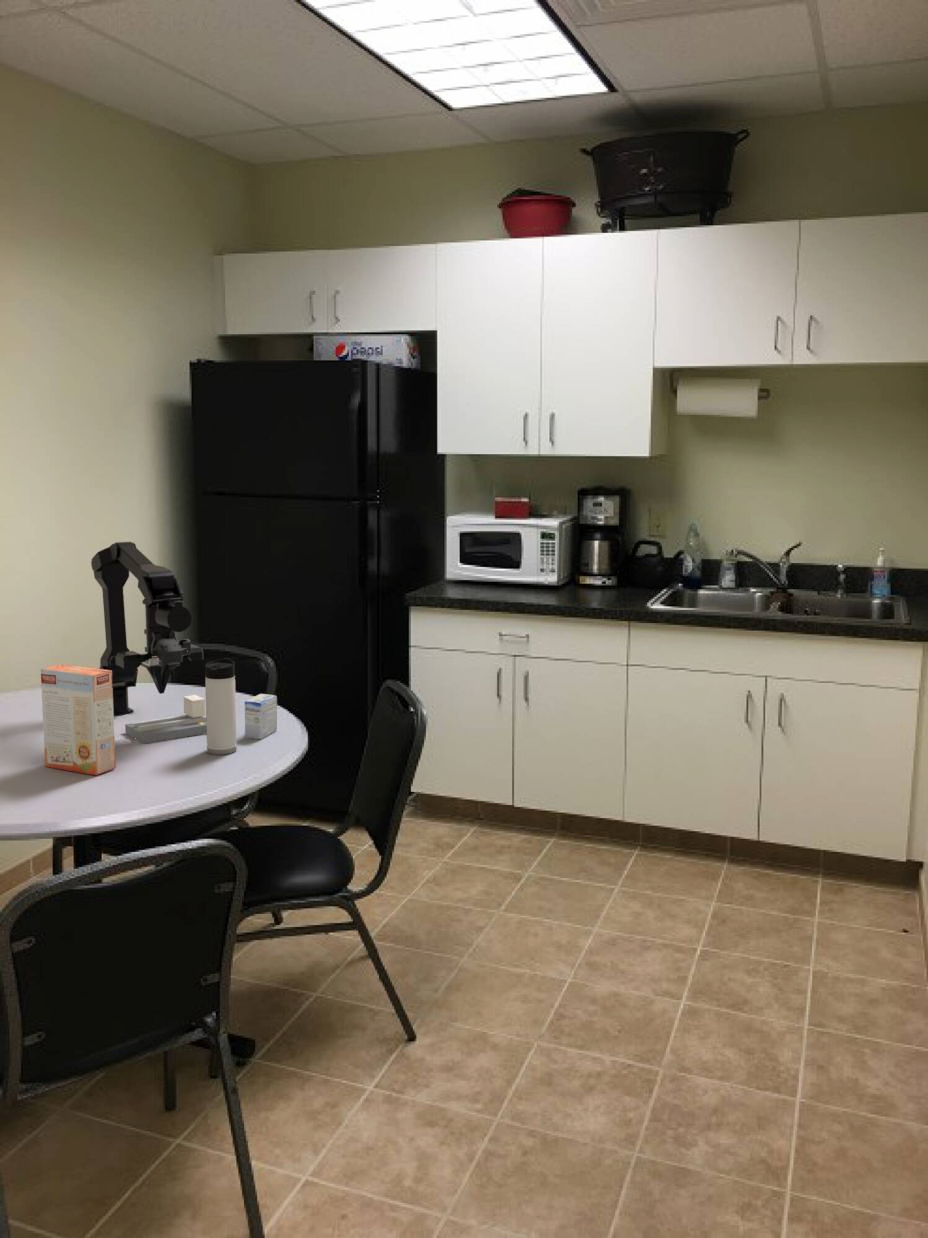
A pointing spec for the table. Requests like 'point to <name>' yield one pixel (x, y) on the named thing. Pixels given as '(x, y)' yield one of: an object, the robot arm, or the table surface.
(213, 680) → the travel mug
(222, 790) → the table surface
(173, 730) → the console
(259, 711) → the medicine box
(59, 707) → the cracker box
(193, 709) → the fader
